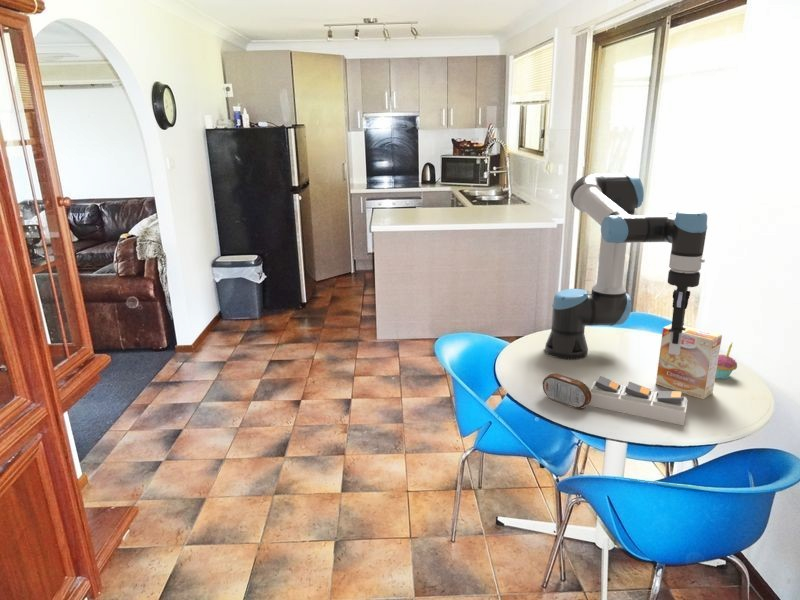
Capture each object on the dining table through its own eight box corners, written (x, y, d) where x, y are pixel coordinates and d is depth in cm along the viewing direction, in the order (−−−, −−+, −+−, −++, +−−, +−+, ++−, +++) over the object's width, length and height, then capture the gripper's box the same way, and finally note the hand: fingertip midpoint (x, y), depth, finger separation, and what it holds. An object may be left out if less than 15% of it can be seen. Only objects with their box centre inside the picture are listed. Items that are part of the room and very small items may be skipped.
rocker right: (657, 403, 156) (657, 397, 156) (659, 396, 161) (658, 390, 160) (681, 403, 153) (680, 397, 153) (682, 396, 157) (681, 390, 157)
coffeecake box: (654, 384, 178) (662, 327, 172) (665, 378, 182) (672, 322, 177) (703, 400, 167) (713, 339, 161) (713, 393, 171) (722, 334, 166)
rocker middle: (625, 392, 160) (626, 387, 160) (627, 386, 164) (629, 381, 164) (646, 400, 158) (648, 395, 157) (648, 394, 162) (650, 388, 161)
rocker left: (594, 385, 164) (596, 381, 163) (597, 379, 168) (600, 375, 168) (614, 395, 162) (616, 390, 161) (617, 388, 166) (619, 384, 165)
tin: (590, 409, 162) (593, 383, 160) (585, 413, 160) (587, 387, 158) (545, 393, 172) (547, 369, 170) (540, 397, 170) (541, 372, 168)
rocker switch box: (578, 403, 166) (579, 388, 165) (584, 391, 173) (586, 376, 172) (683, 425, 152) (686, 409, 151) (685, 411, 160) (688, 396, 159)
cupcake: (726, 370, 187) (732, 337, 184) (740, 381, 179) (746, 347, 175) (700, 370, 187) (705, 337, 184) (713, 381, 179) (719, 347, 176)
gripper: (698, 276, 139) (687, 363, 145) (702, 266, 150) (691, 348, 156) (666, 273, 143) (656, 358, 149) (671, 264, 153) (662, 343, 160)
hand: (674, 353), depth 153 cm, fingers closed
